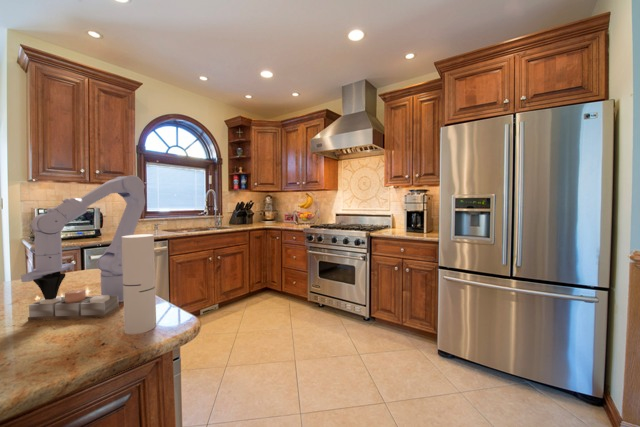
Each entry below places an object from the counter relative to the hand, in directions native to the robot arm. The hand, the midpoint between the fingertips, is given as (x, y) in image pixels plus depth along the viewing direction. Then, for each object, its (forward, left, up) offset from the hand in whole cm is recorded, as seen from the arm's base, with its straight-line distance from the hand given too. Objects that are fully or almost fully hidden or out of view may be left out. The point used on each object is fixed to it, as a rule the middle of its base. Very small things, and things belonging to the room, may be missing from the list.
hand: (50, 299), depth 82 cm
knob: (-14, -1, -4) cm, 15 cm away
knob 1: (0, 0, -4) cm, 4 cm away
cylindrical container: (-33, +7, -5) cm, 34 cm away
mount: (-7, -1, -5) cm, 9 cm away
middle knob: (-7, -1, -2) cm, 7 cm away
